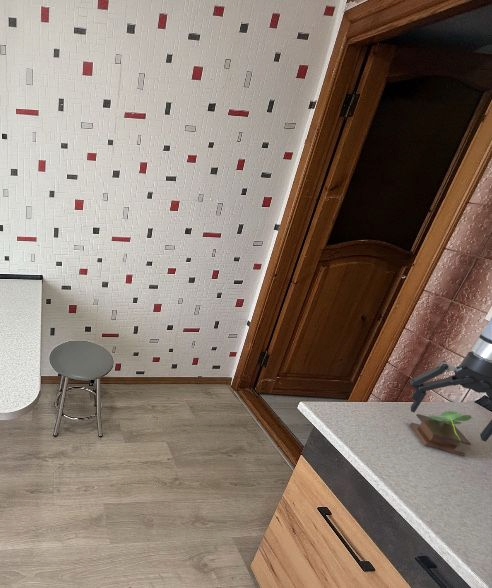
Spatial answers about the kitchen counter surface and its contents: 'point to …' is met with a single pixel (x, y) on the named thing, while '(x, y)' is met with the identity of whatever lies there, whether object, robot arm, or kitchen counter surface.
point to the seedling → (452, 418)
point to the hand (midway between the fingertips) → (446, 423)
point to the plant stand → (439, 435)
